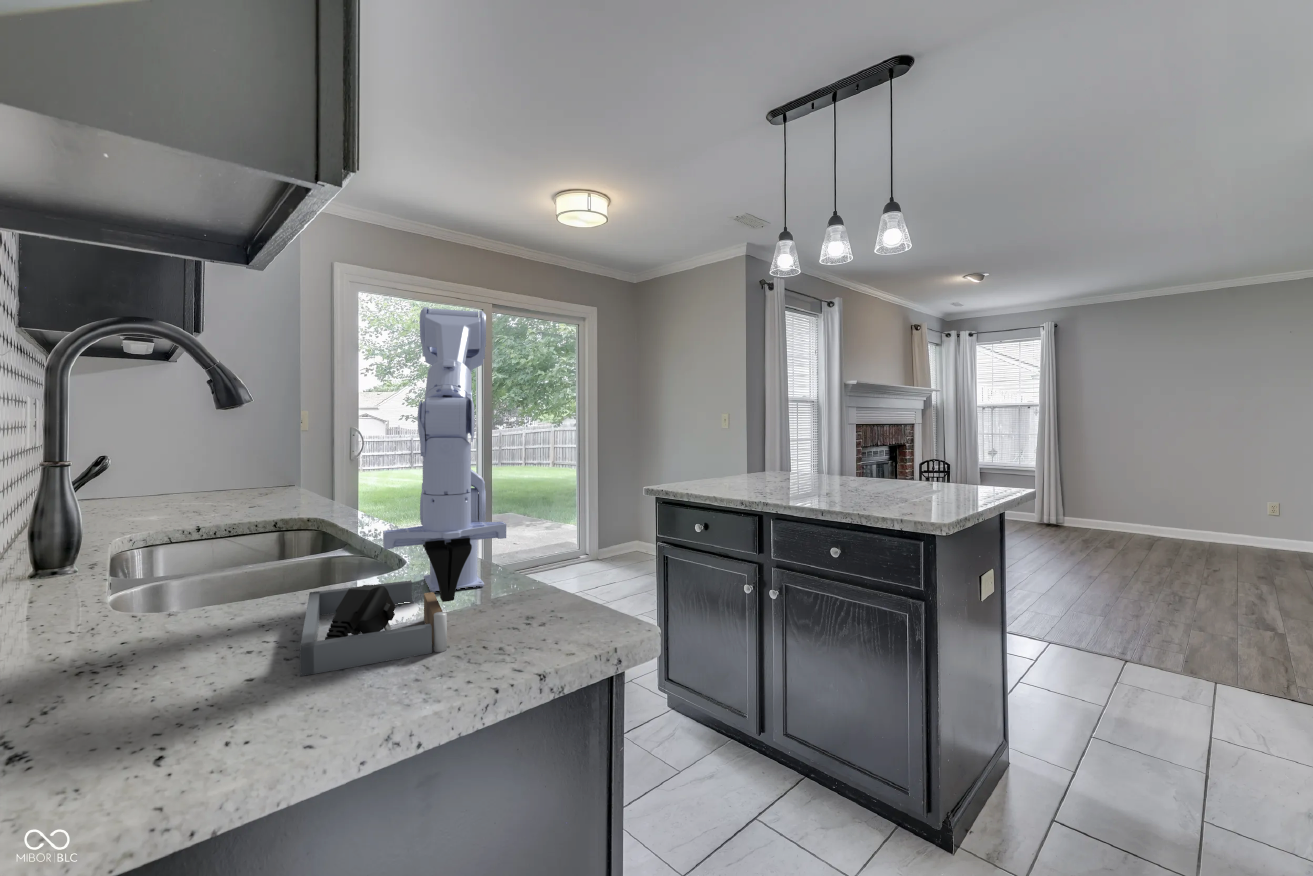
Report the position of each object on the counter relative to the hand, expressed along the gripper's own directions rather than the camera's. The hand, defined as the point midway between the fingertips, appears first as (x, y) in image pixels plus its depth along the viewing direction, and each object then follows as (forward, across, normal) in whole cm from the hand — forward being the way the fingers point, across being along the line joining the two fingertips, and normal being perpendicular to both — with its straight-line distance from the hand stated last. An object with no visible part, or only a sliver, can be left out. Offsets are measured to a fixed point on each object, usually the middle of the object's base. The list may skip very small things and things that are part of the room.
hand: (447, 599), depth 72 cm
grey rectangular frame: (+4, -8, +4) cm, 10 cm away
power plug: (+4, -11, -1) cm, 11 cm away
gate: (+4, -2, 0) cm, 4 cm away
